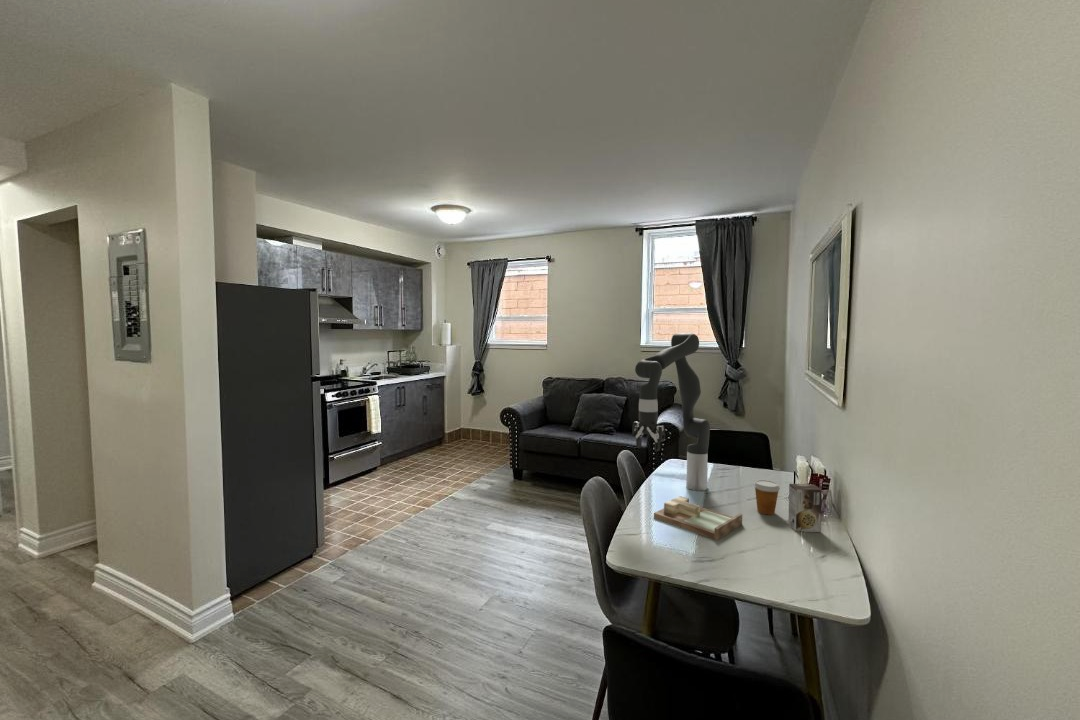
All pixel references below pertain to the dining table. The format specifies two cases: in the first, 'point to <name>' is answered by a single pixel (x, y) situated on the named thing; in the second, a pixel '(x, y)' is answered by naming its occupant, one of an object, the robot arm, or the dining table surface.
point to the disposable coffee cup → (766, 496)
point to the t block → (681, 507)
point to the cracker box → (805, 507)
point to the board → (703, 522)
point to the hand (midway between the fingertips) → (647, 448)
